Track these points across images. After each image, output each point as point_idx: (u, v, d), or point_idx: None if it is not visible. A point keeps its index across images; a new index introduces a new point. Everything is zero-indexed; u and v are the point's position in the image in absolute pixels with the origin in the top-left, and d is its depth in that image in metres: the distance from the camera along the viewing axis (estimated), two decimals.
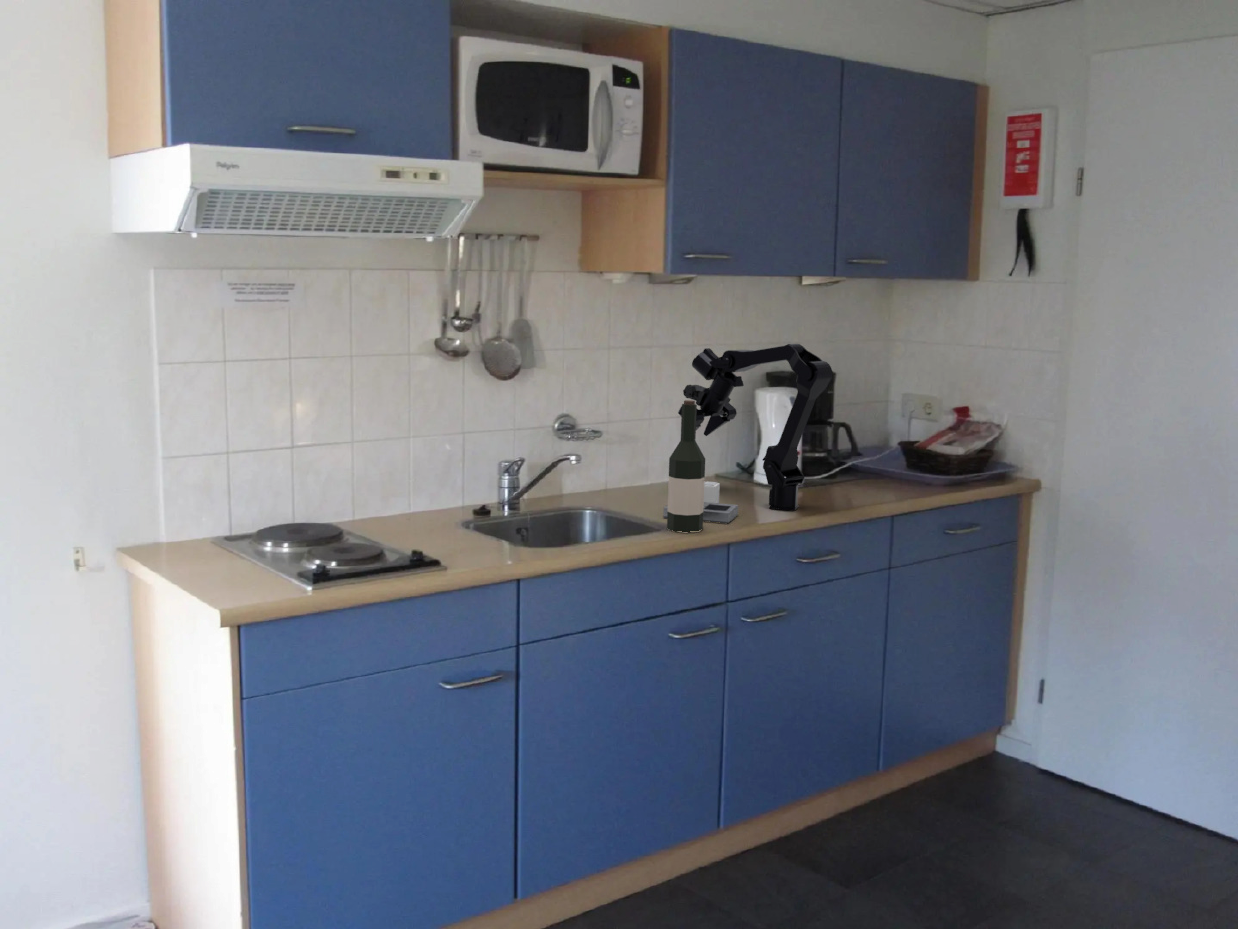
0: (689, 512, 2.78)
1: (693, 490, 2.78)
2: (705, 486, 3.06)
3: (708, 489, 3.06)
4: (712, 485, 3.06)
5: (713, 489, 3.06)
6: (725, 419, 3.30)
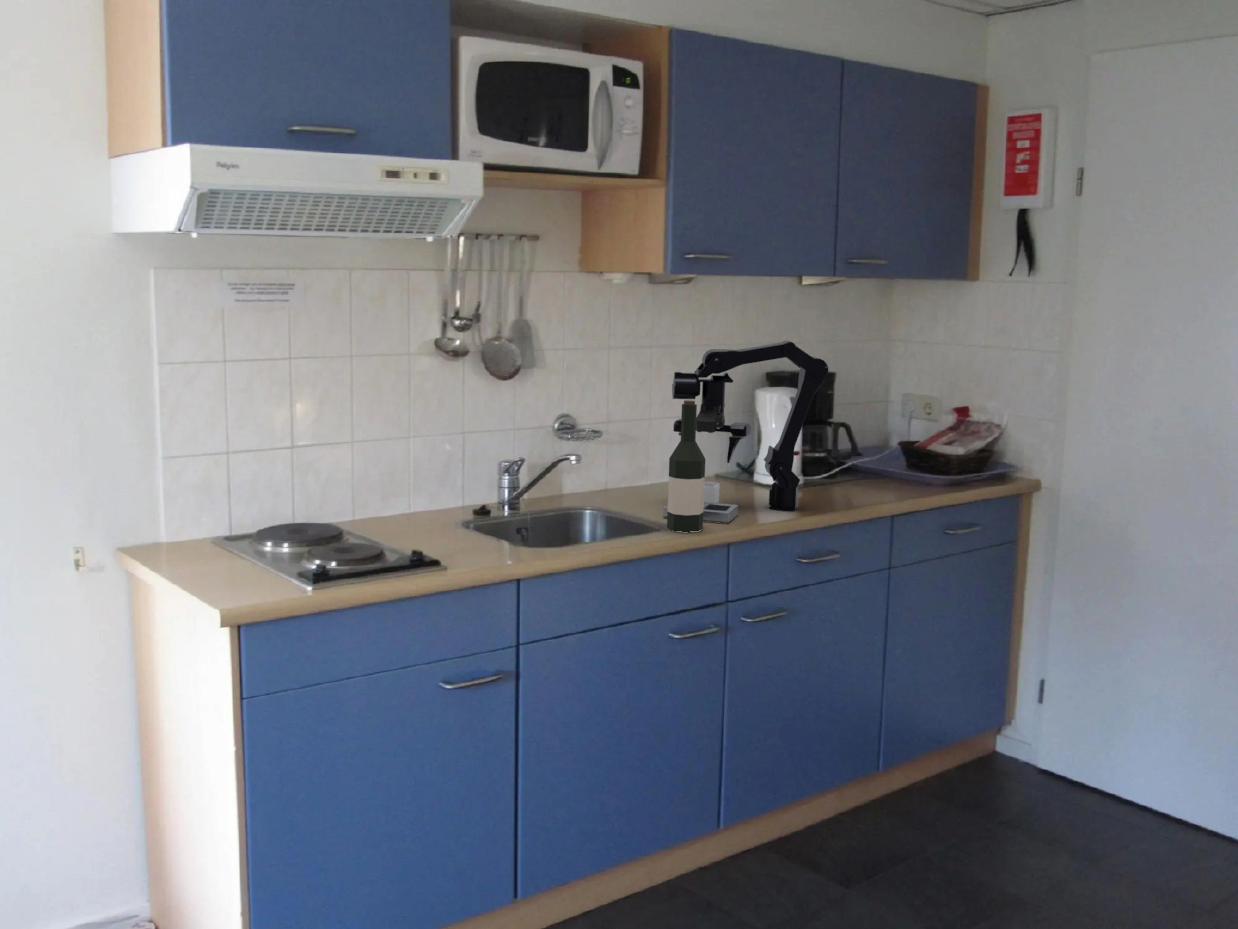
0: (689, 512, 2.78)
1: (693, 490, 2.78)
2: (705, 486, 3.06)
3: (708, 489, 3.06)
4: (712, 485, 3.06)
5: (713, 489, 3.06)
6: None
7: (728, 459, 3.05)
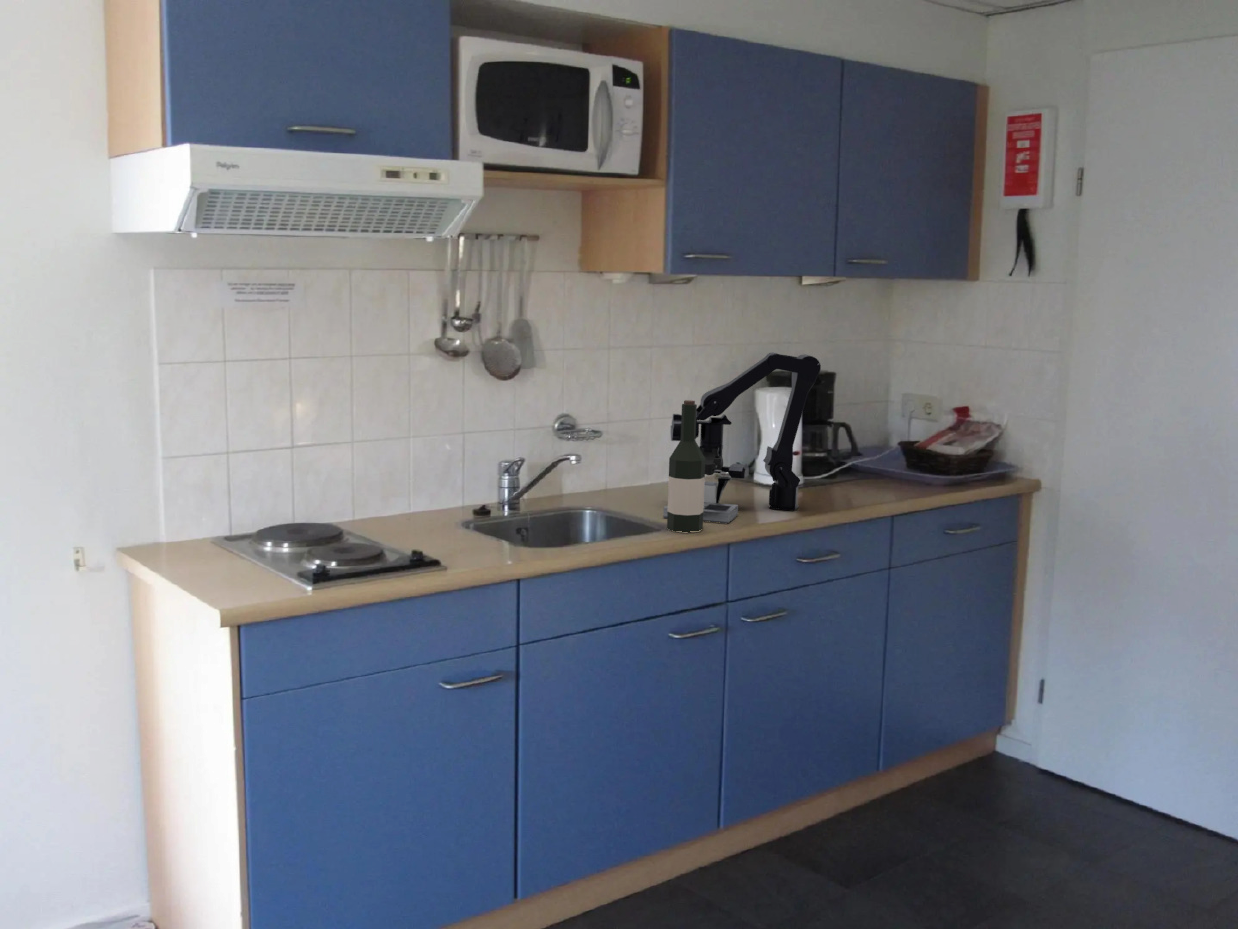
0: (689, 512, 2.78)
1: (693, 490, 2.78)
2: (705, 486, 3.06)
3: (708, 489, 3.06)
4: (712, 485, 3.06)
5: (713, 489, 3.06)
6: None
7: (717, 500, 3.08)
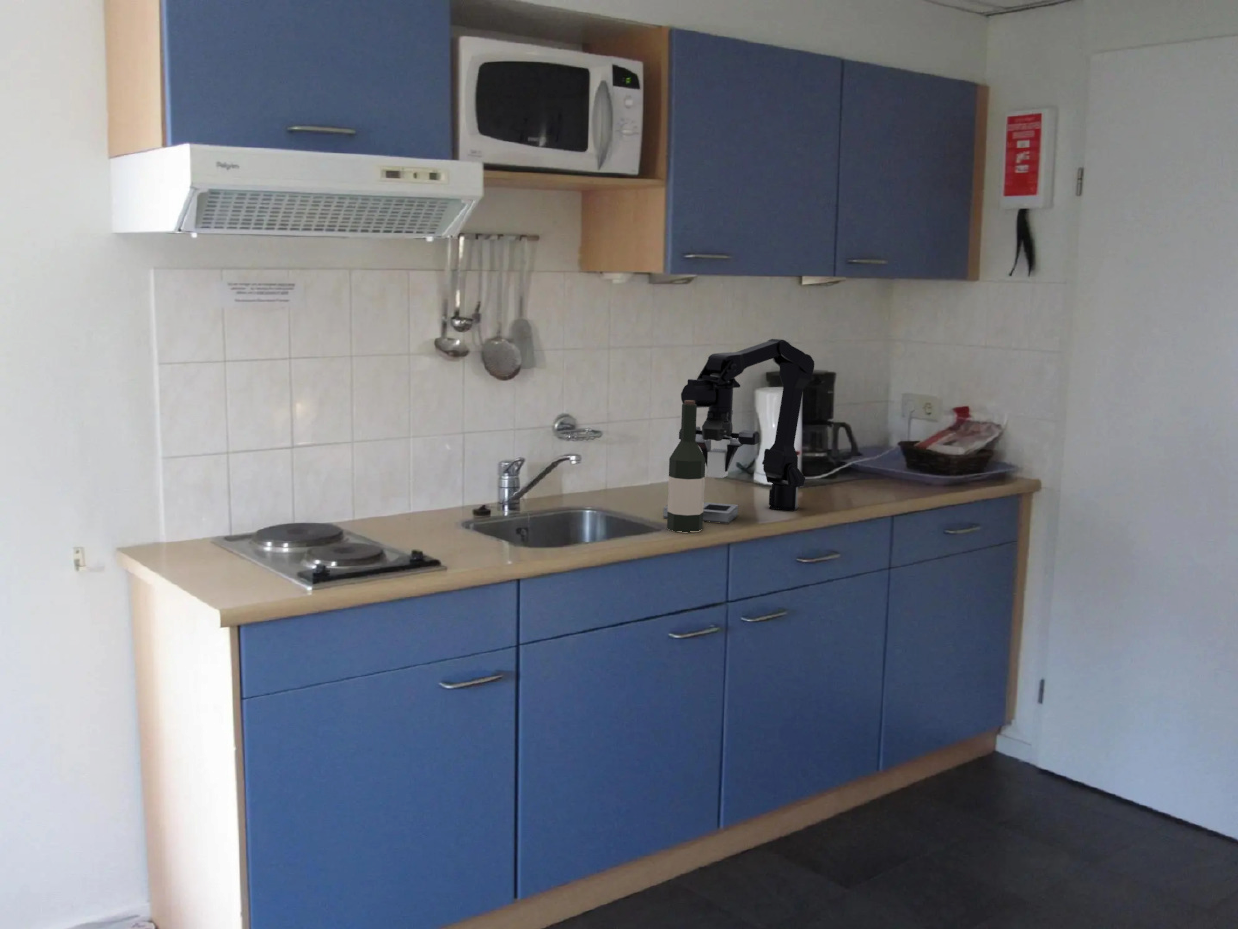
0: (689, 512, 2.78)
1: (693, 490, 2.78)
2: (713, 453, 2.92)
3: (716, 456, 2.92)
4: (721, 452, 2.92)
5: (722, 456, 2.91)
6: None
7: (726, 468, 2.93)
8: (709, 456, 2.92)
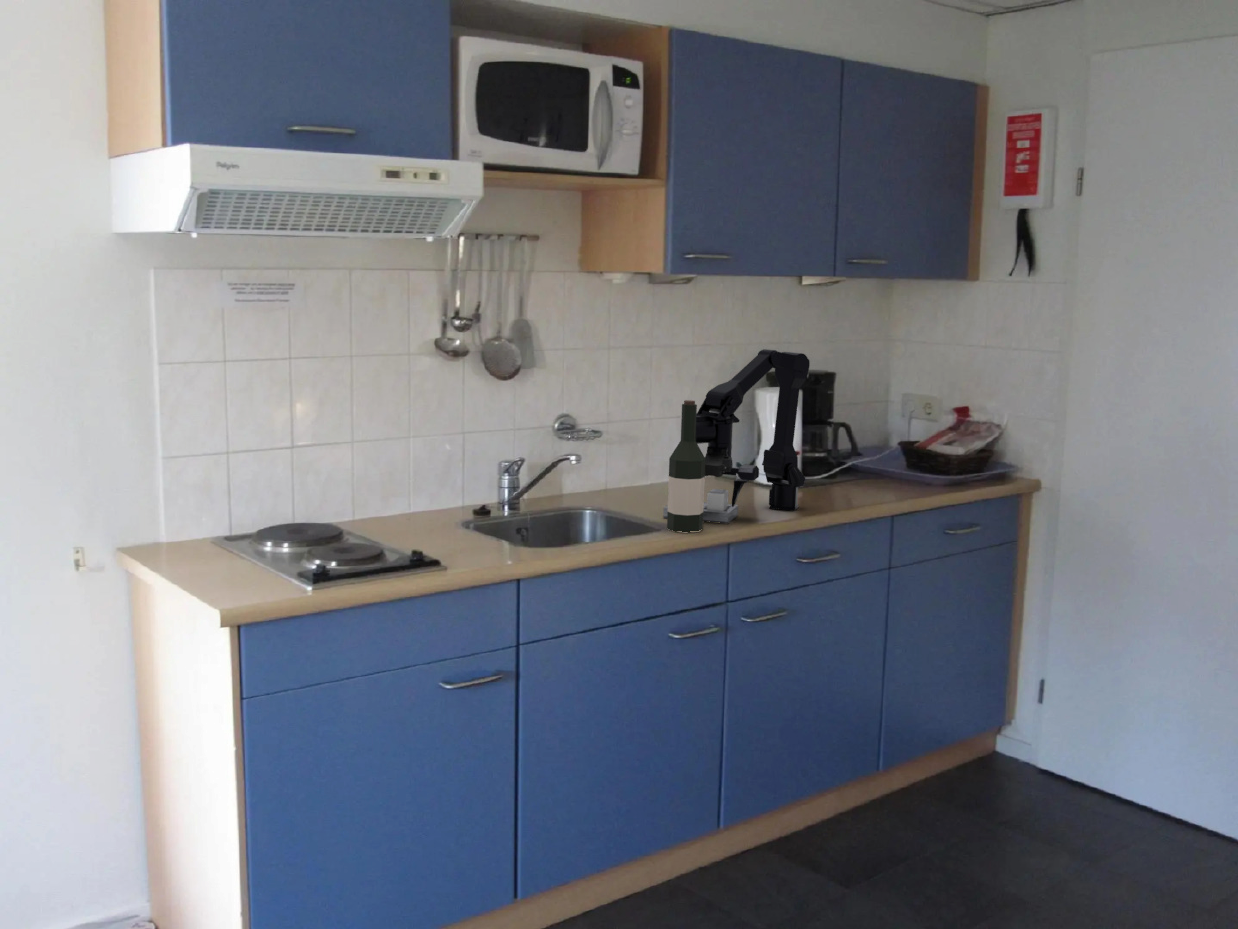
0: (689, 512, 2.78)
1: (693, 490, 2.78)
2: (713, 494, 2.93)
3: (716, 497, 2.93)
4: (720, 493, 2.93)
5: (721, 497, 2.92)
6: None
7: (733, 503, 2.94)
8: (709, 497, 2.93)
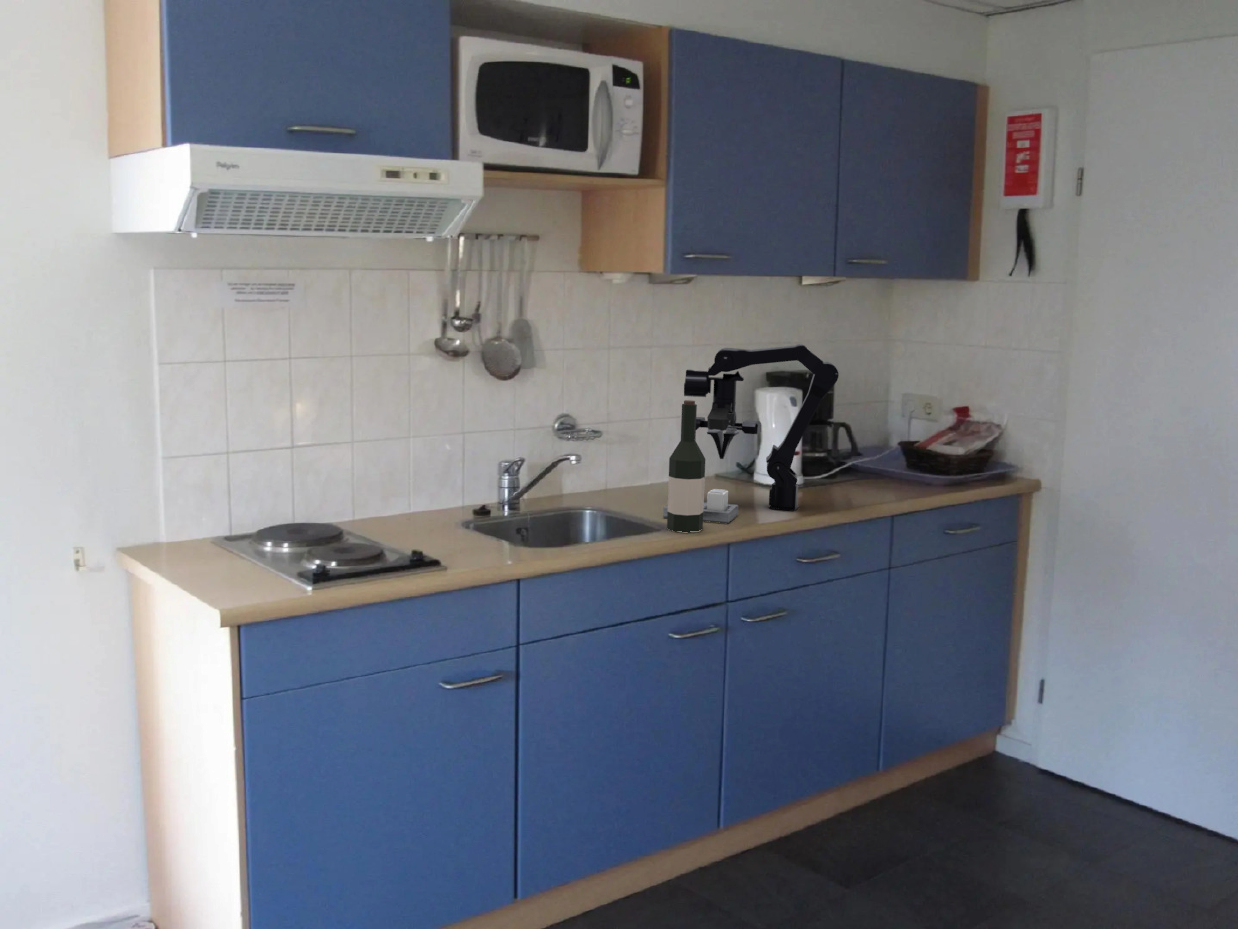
0: (689, 512, 2.78)
1: (693, 490, 2.78)
2: (713, 494, 2.93)
3: (716, 497, 2.93)
4: (720, 493, 2.93)
5: (721, 497, 2.92)
6: None
7: (722, 455, 3.10)
8: (709, 497, 2.93)
